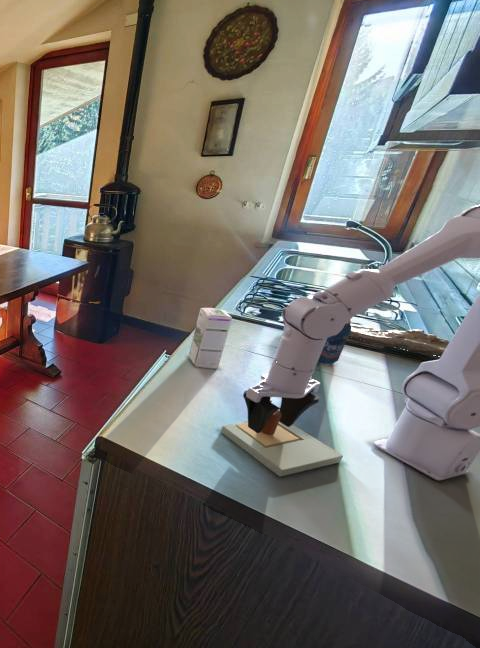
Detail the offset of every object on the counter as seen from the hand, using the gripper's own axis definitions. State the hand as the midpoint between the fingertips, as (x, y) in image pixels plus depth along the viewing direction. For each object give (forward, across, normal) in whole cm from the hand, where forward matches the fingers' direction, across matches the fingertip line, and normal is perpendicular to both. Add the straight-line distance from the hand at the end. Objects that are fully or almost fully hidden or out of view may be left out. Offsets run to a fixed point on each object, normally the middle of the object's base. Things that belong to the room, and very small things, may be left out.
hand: (269, 426), depth 74 cm
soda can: (+3, -45, -22) cm, 50 cm away
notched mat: (+3, 0, +2) cm, 4 cm away
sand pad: (+3, 0, 0) cm, 3 cm away
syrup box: (+3, -12, -28) cm, 30 cm away
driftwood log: (+3, -74, -26) cm, 78 cm away
